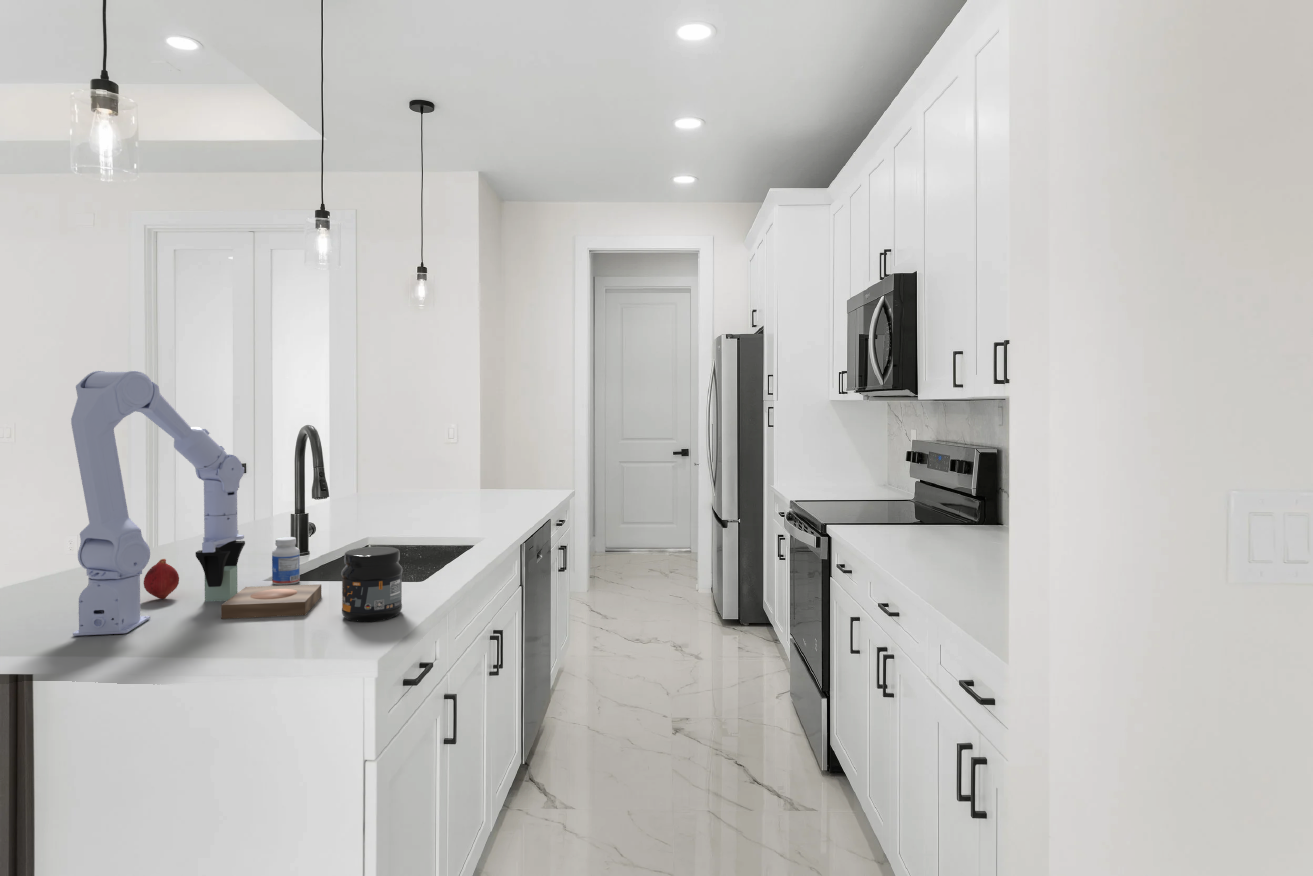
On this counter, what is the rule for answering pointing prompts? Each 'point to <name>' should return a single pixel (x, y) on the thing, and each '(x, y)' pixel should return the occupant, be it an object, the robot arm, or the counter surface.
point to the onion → (161, 580)
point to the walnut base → (271, 601)
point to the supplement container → (371, 584)
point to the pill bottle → (285, 562)
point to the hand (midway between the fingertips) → (221, 581)
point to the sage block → (223, 586)
